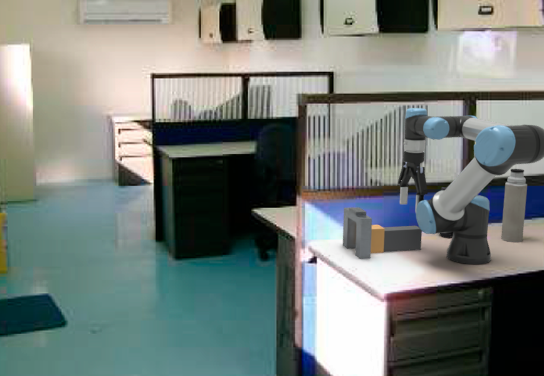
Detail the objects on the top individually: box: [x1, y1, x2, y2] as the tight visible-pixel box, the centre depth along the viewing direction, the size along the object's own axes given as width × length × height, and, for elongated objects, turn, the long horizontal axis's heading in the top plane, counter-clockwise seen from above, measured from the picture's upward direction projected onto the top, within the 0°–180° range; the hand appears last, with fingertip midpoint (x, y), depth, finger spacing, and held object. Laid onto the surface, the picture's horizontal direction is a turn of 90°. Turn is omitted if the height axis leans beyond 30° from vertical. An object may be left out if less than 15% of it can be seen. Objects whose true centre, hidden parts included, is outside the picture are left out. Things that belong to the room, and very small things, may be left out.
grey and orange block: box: [371, 224, 423, 254], centre depth 259 cm, size 21×6×9 cm, turn 104°
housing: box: [342, 206, 373, 260], centre depth 255 cm, size 18×4×16 cm, turn 14°
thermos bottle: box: [500, 168, 528, 243], centre depth 273 cm, size 8×8×28 cm
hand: (411, 208), depth 259 cm, fingers open, 13 cm apart
